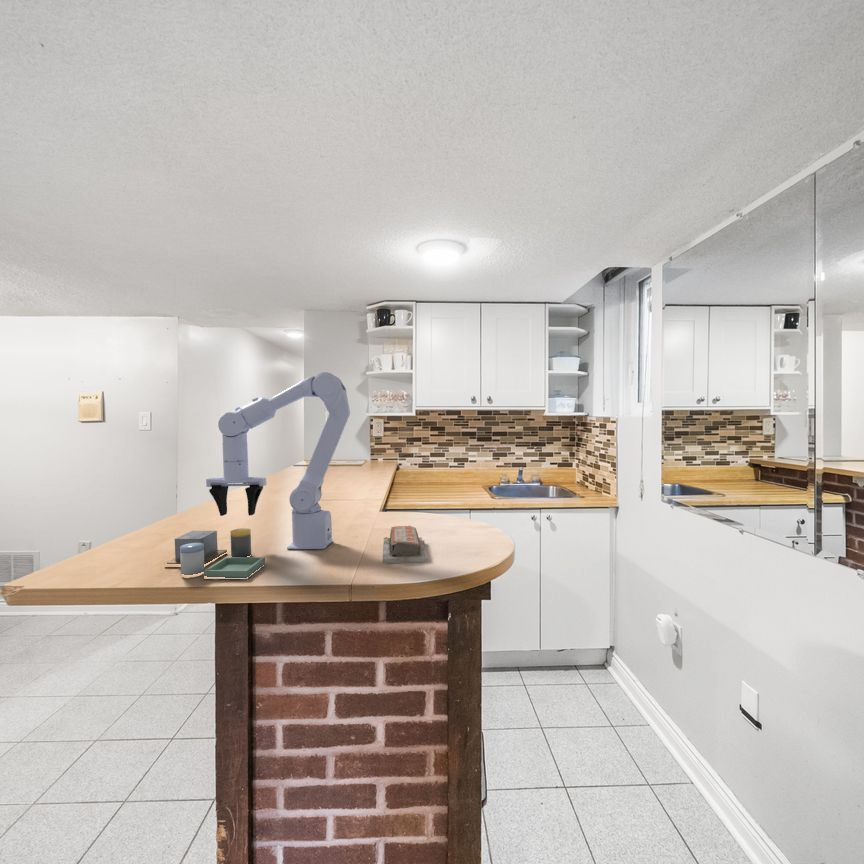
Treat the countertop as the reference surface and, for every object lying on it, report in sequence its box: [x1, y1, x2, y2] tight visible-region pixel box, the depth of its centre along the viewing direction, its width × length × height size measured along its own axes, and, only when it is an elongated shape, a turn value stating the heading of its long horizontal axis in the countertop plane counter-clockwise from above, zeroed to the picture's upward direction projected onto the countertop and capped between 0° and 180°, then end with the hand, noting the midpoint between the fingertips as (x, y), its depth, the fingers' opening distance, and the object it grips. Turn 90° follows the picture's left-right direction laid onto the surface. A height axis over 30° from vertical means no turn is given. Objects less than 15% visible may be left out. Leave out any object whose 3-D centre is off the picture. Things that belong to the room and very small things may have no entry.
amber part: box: [230, 527, 252, 557], centre depth 109 cm, size 4×4×6 cm
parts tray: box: [203, 556, 266, 578], centre depth 98 cm, size 9×9×2 cm
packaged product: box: [382, 525, 427, 565], centre depth 112 cm, size 18×5×10 cm
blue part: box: [180, 543, 206, 575], centre depth 97 cm, size 4×4×6 cm
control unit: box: [165, 530, 228, 564], centre depth 107 cm, size 9×10×6 cm
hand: (237, 514), depth 116 cm, fingers open, 7 cm apart
